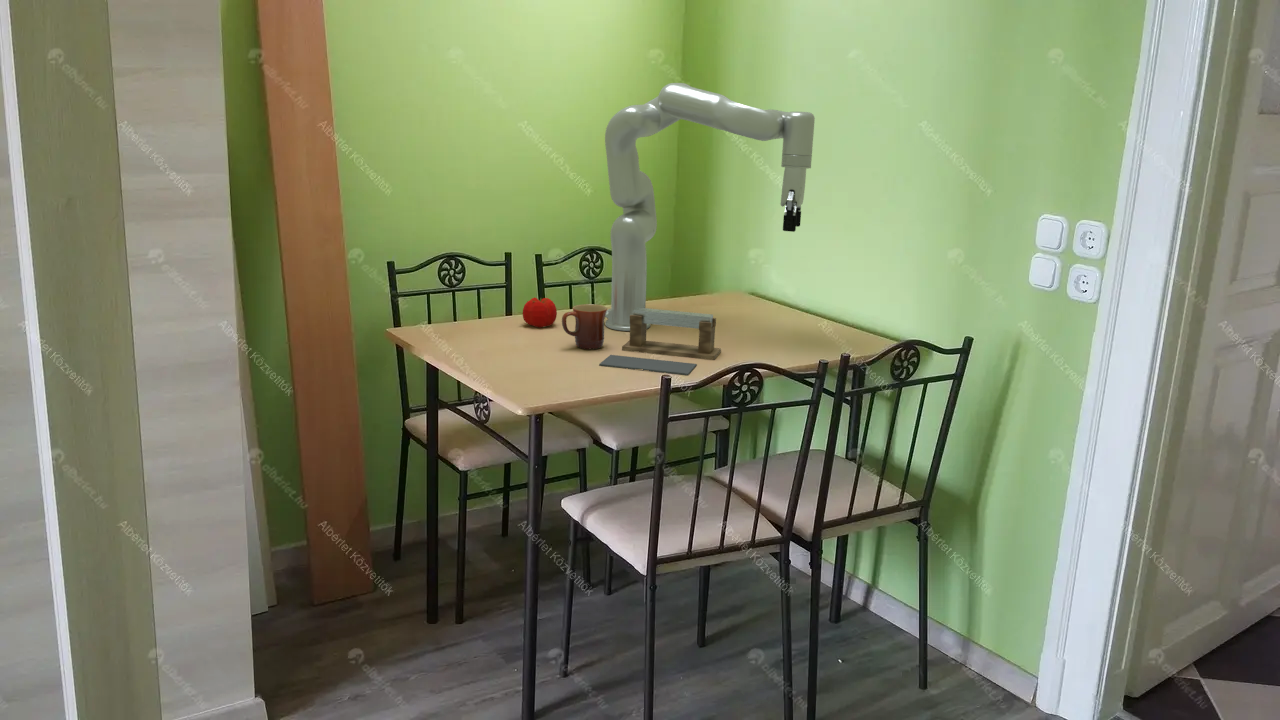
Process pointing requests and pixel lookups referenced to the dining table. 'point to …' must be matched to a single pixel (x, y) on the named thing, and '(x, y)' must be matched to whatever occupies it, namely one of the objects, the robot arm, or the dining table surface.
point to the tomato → (539, 312)
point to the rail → (672, 317)
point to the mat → (648, 364)
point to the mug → (587, 325)
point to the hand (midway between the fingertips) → (791, 228)
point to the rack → (701, 351)
